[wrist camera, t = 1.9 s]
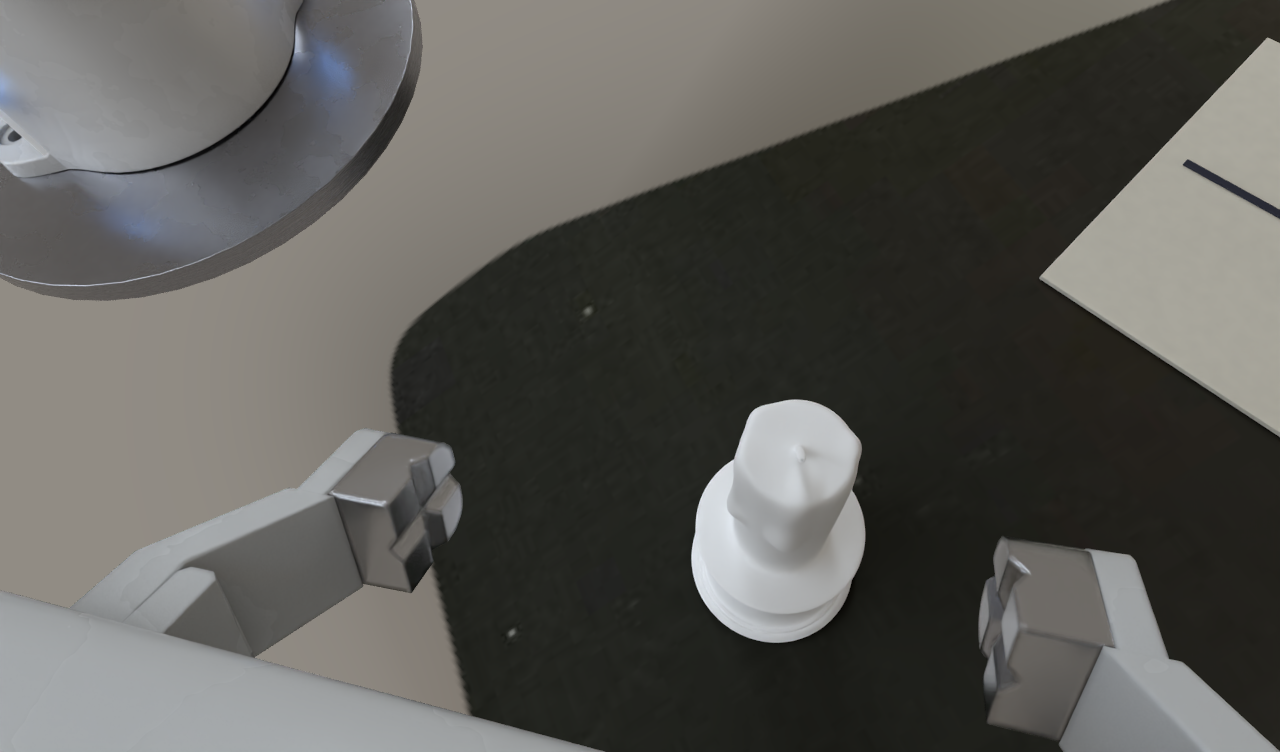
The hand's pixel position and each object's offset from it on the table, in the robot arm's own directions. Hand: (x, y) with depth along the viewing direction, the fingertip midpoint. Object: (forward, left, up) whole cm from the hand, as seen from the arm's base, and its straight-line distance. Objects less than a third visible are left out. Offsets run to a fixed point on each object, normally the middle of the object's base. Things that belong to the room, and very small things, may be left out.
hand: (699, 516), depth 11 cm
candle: (0, +3, -15) cm, 16 cm away
